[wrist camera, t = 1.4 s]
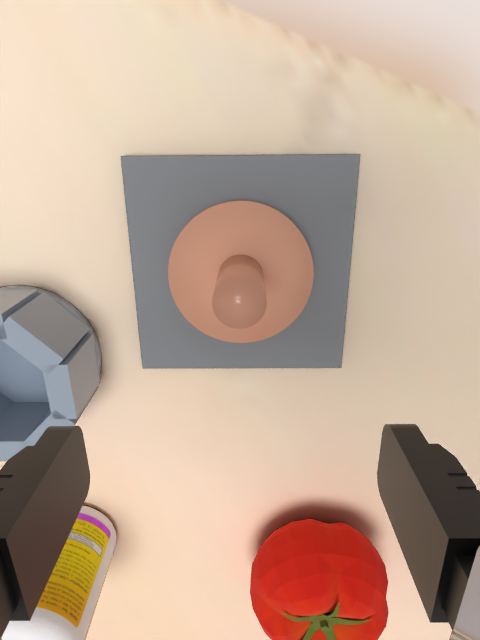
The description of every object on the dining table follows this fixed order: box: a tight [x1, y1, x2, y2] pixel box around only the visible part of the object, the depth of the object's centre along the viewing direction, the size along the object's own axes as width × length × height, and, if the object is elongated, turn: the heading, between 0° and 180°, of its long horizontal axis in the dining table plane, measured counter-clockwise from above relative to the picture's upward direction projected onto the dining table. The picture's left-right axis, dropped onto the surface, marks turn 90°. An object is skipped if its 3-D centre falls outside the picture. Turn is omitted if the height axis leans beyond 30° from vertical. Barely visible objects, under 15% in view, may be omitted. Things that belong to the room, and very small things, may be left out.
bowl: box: [0, 285, 102, 461], centre depth 28 cm, size 10×10×6 cm
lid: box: [168, 200, 314, 343], centre depth 25 cm, size 9×9×6 cm
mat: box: [121, 154, 360, 368], centre depth 28 cm, size 14×14×1 cm
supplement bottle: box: [1, 506, 117, 640], centre depth 31 cm, size 7×7×13 cm
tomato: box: [250, 519, 388, 640], centre depth 34 cm, size 11×11×8 cm
